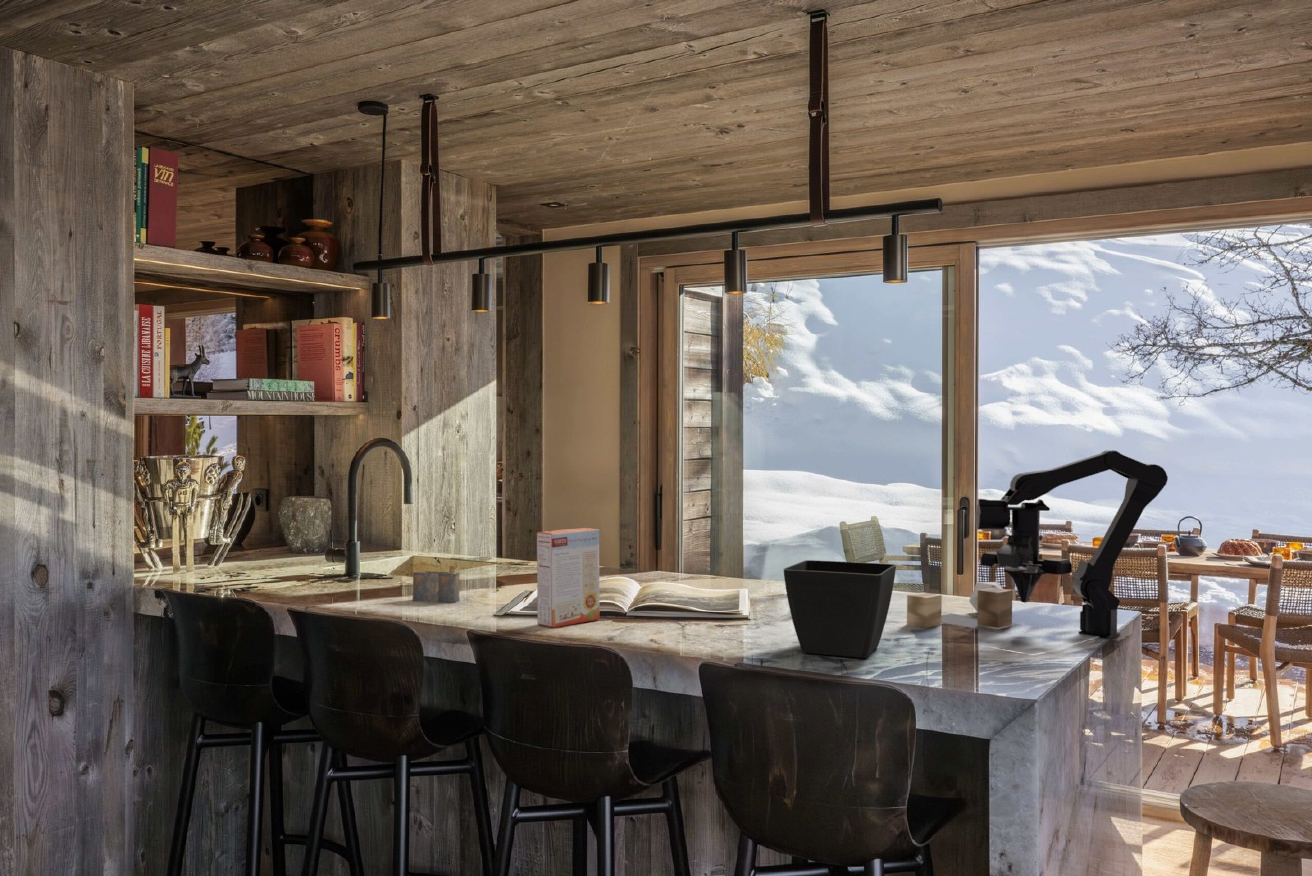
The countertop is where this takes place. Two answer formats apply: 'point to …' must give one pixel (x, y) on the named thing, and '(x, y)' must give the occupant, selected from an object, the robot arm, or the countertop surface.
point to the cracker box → (567, 576)
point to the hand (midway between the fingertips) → (1024, 602)
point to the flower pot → (839, 605)
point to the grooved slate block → (436, 586)
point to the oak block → (924, 609)
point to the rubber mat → (966, 622)
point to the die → (980, 586)
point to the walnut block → (994, 608)
